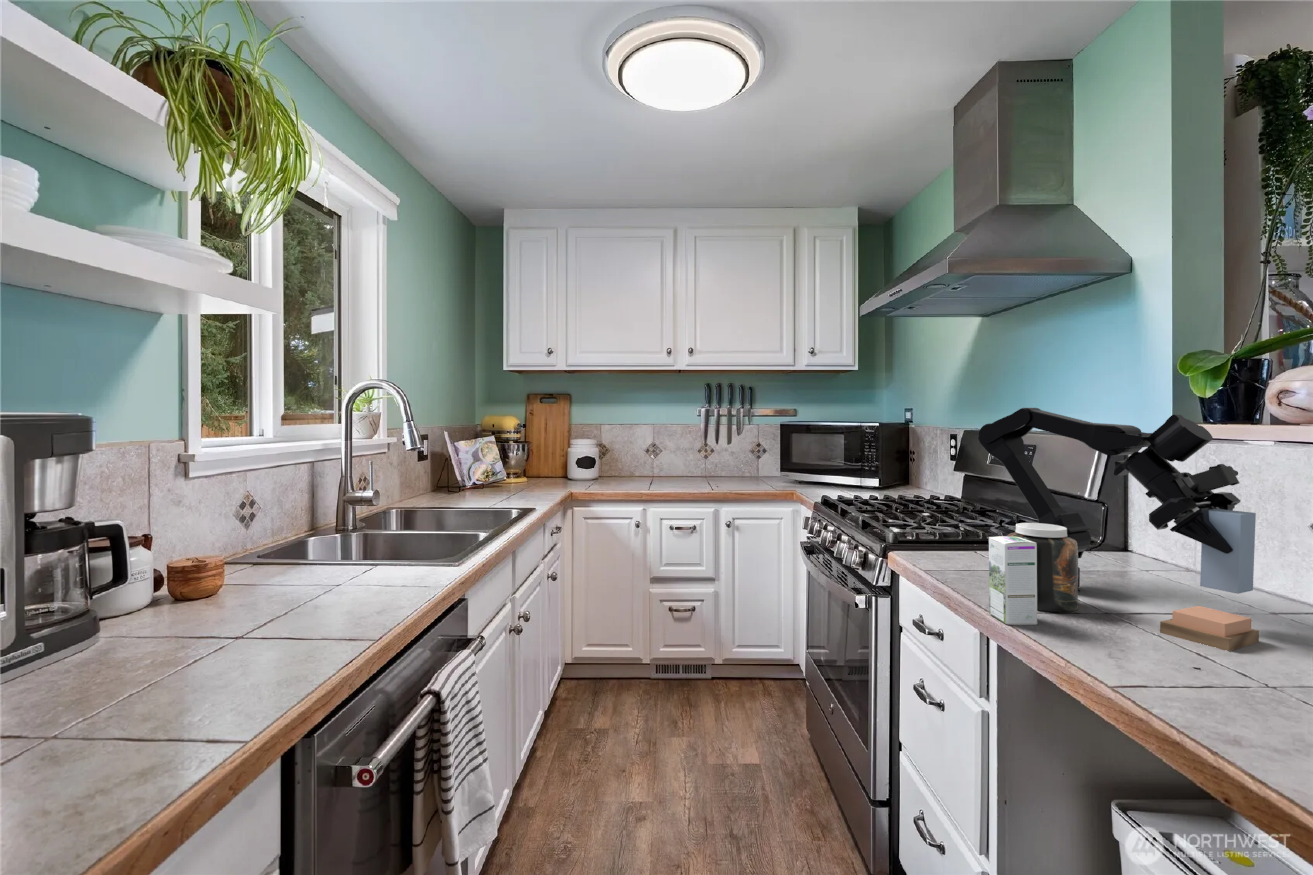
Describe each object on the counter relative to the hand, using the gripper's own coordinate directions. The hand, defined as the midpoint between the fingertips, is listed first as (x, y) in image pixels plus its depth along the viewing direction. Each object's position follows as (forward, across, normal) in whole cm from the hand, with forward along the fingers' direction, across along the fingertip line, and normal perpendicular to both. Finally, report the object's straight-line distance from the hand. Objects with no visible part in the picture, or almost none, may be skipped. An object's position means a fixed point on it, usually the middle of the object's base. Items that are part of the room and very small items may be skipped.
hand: (1238, 550), depth 101 cm
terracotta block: (+8, -8, +8) cm, 14 cm away
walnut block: (+10, -8, +10) cm, 16 cm away
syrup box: (-5, -27, +24) cm, 37 cm away
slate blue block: (+4, 0, +6) cm, 7 cm away
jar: (-7, -13, +27) cm, 31 cm away
